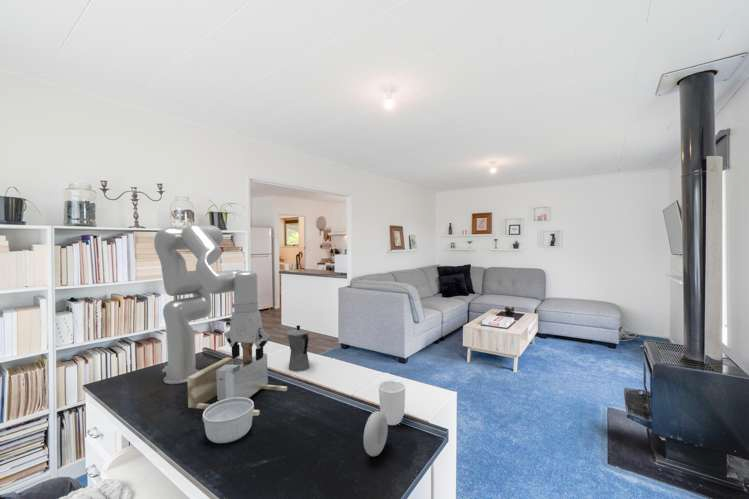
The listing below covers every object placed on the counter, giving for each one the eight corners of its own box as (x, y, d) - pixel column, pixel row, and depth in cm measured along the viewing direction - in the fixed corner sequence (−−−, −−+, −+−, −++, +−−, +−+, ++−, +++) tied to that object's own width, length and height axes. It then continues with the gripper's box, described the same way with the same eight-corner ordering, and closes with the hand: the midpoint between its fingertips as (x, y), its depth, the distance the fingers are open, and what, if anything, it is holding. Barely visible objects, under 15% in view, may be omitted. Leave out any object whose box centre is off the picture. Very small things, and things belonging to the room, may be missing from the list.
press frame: (188, 407, 106) (187, 377, 106) (227, 383, 124) (226, 357, 124) (256, 416, 100) (256, 384, 100) (287, 389, 118) (286, 362, 118)
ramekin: (221, 453, 83) (220, 426, 83) (193, 437, 90) (192, 412, 90) (264, 427, 94) (263, 403, 94) (235, 415, 101) (235, 393, 101)
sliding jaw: (224, 407, 103) (223, 345, 102) (259, 382, 121) (258, 330, 120) (235, 408, 102) (234, 346, 101) (269, 383, 120) (267, 330, 119)
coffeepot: (282, 365, 142) (281, 324, 141) (302, 360, 147) (301, 320, 147) (297, 376, 129) (296, 331, 129) (318, 370, 135) (317, 327, 135)
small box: (247, 393, 115) (246, 364, 115) (239, 401, 110) (238, 370, 109) (225, 393, 116) (225, 364, 116) (216, 400, 110) (215, 370, 110)
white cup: (408, 414, 99) (407, 382, 99) (402, 428, 92) (401, 393, 92) (383, 410, 102) (383, 379, 102) (375, 424, 94) (375, 390, 94)
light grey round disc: (378, 439, 87) (377, 403, 87) (390, 443, 85) (389, 405, 85) (361, 463, 78) (360, 422, 78) (374, 467, 76) (373, 425, 76)
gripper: (216, 309, 109) (218, 360, 109) (262, 310, 105) (263, 364, 105) (231, 304, 116) (233, 352, 117) (274, 306, 112) (276, 356, 112)
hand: (247, 358), depth 111 cm, fingers open, 8 cm apart
